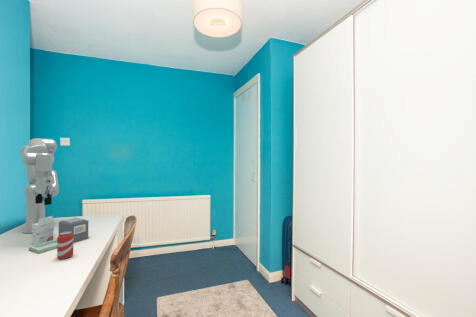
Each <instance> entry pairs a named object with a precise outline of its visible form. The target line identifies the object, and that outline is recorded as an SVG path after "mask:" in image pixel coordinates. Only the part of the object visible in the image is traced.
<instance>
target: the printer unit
mask: <svg viewBox="0 0 476 317" xmlns="http://www.w3.org/2000/svg"><path fill="white" fill-rule="evenodd" d="M65 231H72V233H73V235H74V243H78V242H81V241H84V240H87V239H89V220H88V219H85V218H81V217H80V218H79V217H72V218H66V219H62V220H60V221H58V234H57V237H58V236H59V233H61V232H65Z"/></svg>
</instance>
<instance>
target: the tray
mask: <svg viewBox="0 0 476 317" xmlns="http://www.w3.org/2000/svg"><path fill="white" fill-rule="evenodd" d="M52 250H57V239H53V240H52V241H48V242H44V243H41V244H37V245H30V246H28V251H30V252H33V253H36V254H43V253H45V252H49V251H52Z"/></svg>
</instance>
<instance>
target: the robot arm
mask: <svg viewBox="0 0 476 317" xmlns="http://www.w3.org/2000/svg"><path fill="white" fill-rule="evenodd" d="M57 148H58V145H57V141H56V140H54V139H51V138H38V137H37V138H32V139H30V140H29V141H28V144H27V145H22V147H21V149H20V154H21V160H22V164H24V165H25V166H26V167H25V168H26V179H27V182H29V184H27V185H25V187H24V196H25V204H26V206H25V208H26V210H25V229H23V230H22V233H23V234H32V224H35V223H38V219H41V218H45V217H46V206H49V205H52V203H53V202H52V198H53V197H57V196H58V194H59V191H60V189H59V188H60V187H59V180H58V174H57V171H56V170H55V169H53V164H54V162H55V156H54V155H55V153H56V150H57ZM43 199H44V200H43ZM43 221H46V219H45V220H43Z"/></svg>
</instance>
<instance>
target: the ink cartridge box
mask: <svg viewBox="0 0 476 317" xmlns="http://www.w3.org/2000/svg"><path fill="white" fill-rule="evenodd" d="M53 216H54V215H50V216H45V218H41V219H38V223H35V224H32V233H31V246H33V245H37V244H41V243H44V242H48V241H52V240H54V217H53ZM43 220H45V221H43Z"/></svg>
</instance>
